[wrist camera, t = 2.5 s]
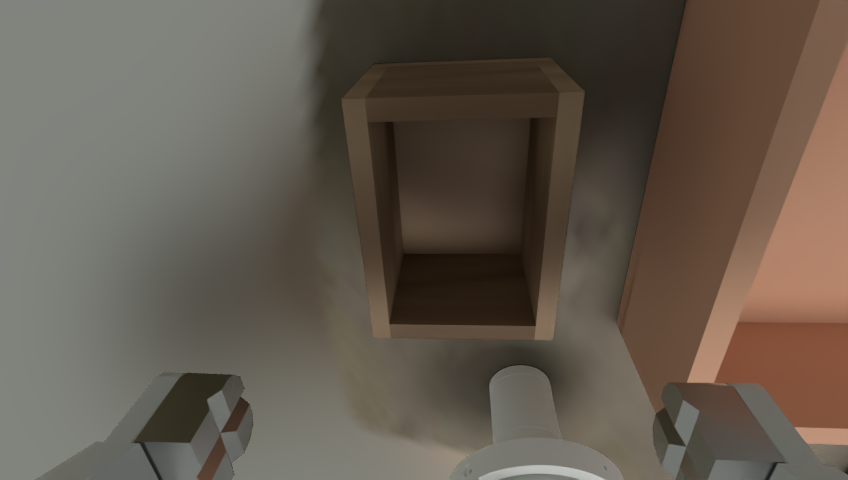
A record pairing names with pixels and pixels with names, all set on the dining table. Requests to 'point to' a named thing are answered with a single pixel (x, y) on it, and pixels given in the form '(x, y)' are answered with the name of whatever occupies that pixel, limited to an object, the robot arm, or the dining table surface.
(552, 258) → the small crate
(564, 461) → the white plastic connector
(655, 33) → the dining table surface
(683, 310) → the big crate
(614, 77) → the dining table surface
